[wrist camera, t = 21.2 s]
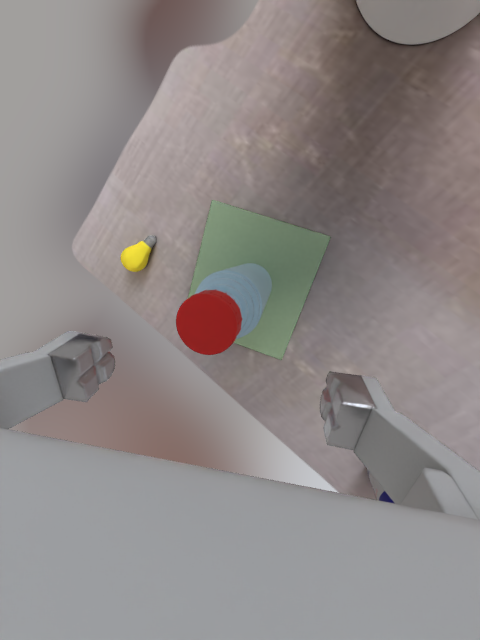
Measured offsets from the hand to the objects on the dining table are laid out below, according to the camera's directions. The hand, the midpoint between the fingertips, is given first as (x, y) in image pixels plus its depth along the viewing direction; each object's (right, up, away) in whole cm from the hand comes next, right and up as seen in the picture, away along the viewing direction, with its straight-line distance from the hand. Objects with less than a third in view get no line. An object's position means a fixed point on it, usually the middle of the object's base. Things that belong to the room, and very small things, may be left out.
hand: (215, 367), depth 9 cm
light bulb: (-13, +12, +27) cm, 32 cm away
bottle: (+2, +7, +25) cm, 26 cm away
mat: (+2, +7, +26) cm, 27 cm away
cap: (-1, +2, +7) cm, 7 cm away
